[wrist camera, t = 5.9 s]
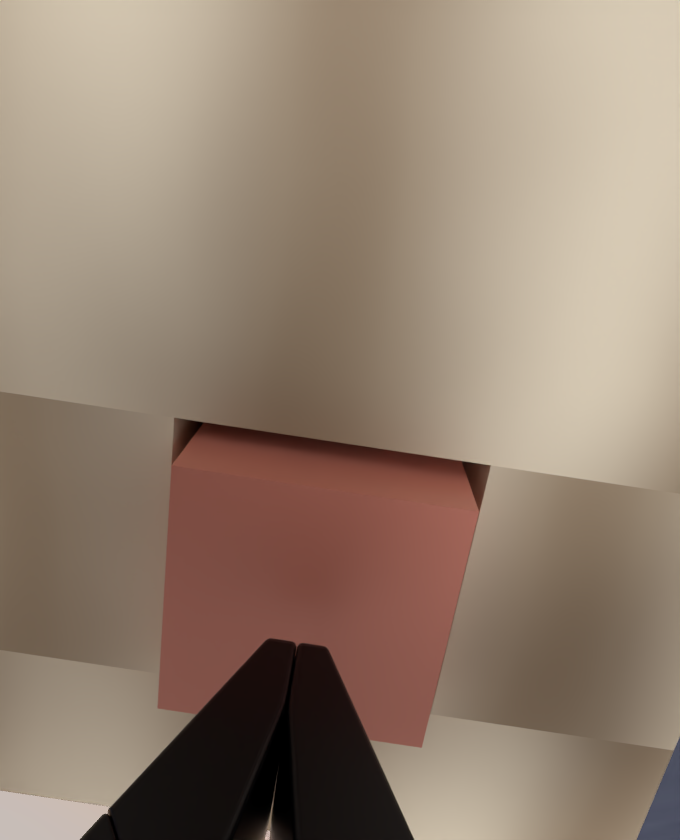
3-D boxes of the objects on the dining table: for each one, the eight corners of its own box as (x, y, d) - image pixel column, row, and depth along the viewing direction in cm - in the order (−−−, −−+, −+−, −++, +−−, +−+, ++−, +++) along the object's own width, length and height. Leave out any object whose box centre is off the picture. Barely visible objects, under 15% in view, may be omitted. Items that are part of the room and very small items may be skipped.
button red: (449, 427, 12) (479, 511, 9) (409, 615, 14) (421, 747, 10) (225, 393, 12) (171, 465, 9) (209, 585, 14) (157, 708, 10)
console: (1024, -652, 8) (1553, -1341, 5) (561, 725, 16) (618, 882, 13) (-9, -814, 8) (-317, -1634, 5) (30, 646, 16) (-71, 780, 13)
